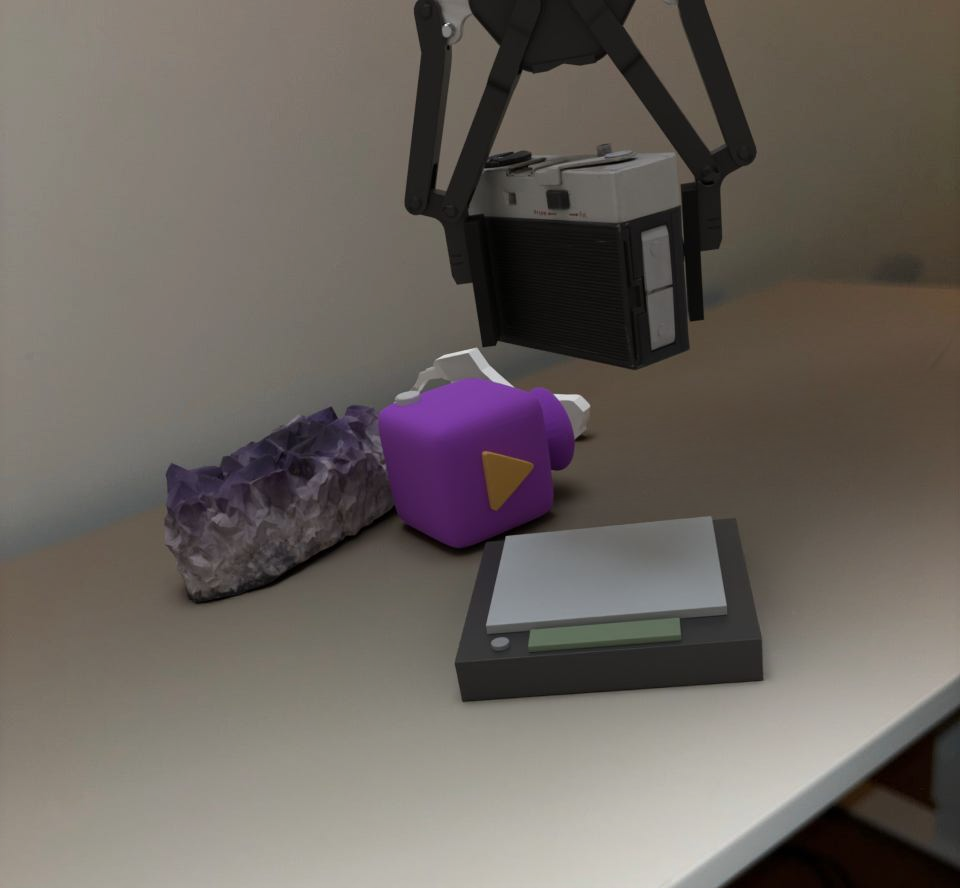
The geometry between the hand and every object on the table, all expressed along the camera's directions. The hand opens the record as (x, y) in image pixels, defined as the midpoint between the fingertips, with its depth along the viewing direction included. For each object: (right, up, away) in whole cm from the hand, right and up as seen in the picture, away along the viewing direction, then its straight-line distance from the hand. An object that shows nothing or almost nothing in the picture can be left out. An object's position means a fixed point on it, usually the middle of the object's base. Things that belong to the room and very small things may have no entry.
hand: (592, 327), depth 59 cm
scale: (+2, -16, +4) cm, 17 cm away
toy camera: (-5, -8, +21) cm, 23 cm away
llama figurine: (-5, +1, +37) cm, 37 cm away
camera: (+1, -1, 0) cm, 1 cm away
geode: (-20, -10, +22) cm, 32 cm away
